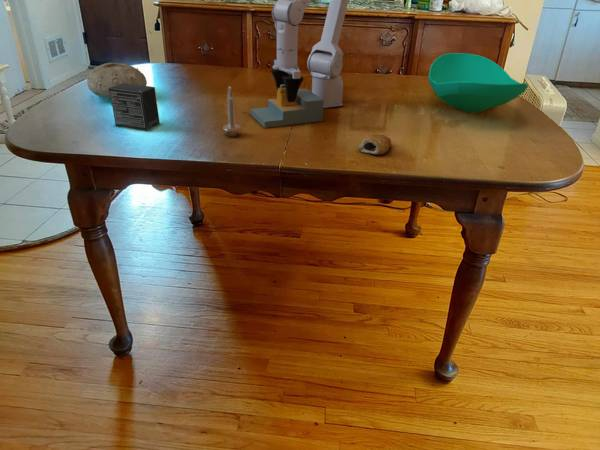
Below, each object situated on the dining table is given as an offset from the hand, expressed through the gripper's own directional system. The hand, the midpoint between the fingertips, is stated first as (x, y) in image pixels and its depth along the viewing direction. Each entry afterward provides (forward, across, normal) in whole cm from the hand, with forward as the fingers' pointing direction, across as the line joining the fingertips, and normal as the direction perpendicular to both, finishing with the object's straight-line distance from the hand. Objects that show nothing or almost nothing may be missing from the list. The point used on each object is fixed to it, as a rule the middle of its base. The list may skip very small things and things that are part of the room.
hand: (286, 98), depth 131 cm
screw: (+6, +8, -19) cm, 21 cm away
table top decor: (+6, +12, +59) cm, 60 cm away
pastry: (+6, +30, +12) cm, 33 cm away
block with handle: (+2, 0, 0) cm, 2 cm away
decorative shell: (+6, -36, -43) cm, 56 cm away
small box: (+6, -8, -41) cm, 42 cm away
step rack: (+6, 0, 0) cm, 6 cm away
